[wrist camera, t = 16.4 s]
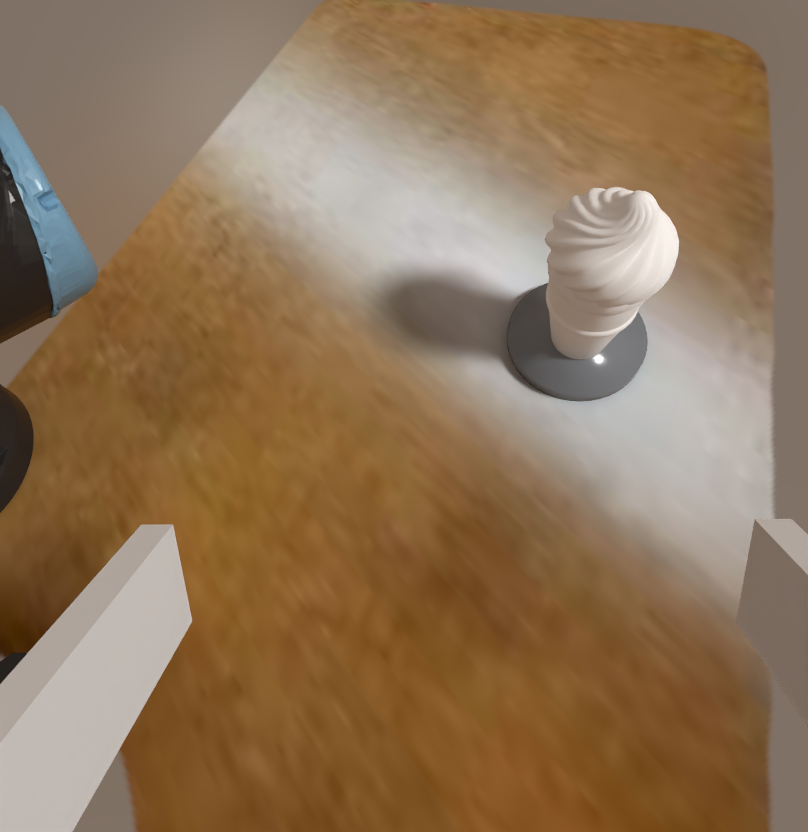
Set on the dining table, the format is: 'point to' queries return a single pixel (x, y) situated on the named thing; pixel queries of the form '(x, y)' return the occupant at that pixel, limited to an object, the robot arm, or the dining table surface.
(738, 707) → the dining table surface
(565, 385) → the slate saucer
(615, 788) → the dining table surface
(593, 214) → the soft serve ice cream cone
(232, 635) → the dining table surface
